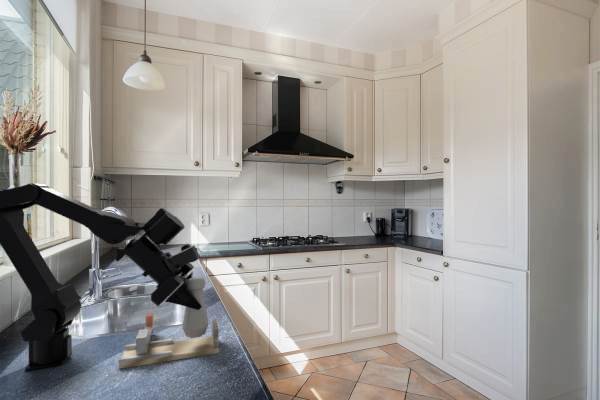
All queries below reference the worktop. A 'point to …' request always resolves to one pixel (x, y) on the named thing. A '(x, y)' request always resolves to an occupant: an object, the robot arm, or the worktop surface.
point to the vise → (171, 350)
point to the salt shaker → (196, 311)
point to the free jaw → (145, 335)
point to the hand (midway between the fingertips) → (201, 305)
